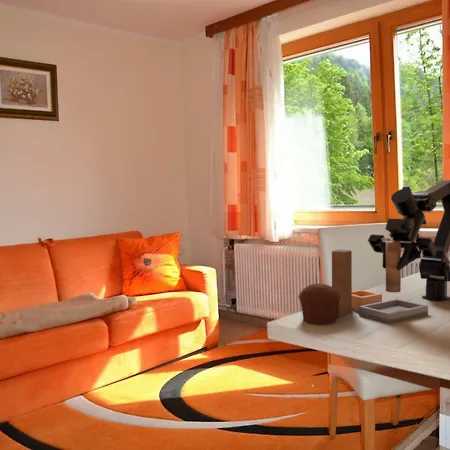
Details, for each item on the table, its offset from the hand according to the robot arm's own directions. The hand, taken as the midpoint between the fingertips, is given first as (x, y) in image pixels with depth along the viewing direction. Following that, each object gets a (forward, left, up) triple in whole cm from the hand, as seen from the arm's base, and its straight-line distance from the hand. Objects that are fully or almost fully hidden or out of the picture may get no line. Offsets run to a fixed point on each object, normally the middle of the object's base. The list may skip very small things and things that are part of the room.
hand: (390, 268), depth 143 cm
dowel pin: (-1, 0, -7) cm, 7 cm away
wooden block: (+10, -11, -14) cm, 20 cm away
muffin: (+20, -8, -14) cm, 25 cm away
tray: (-1, 0, -13) cm, 13 cm away
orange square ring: (-1, -12, -13) cm, 18 cm away
